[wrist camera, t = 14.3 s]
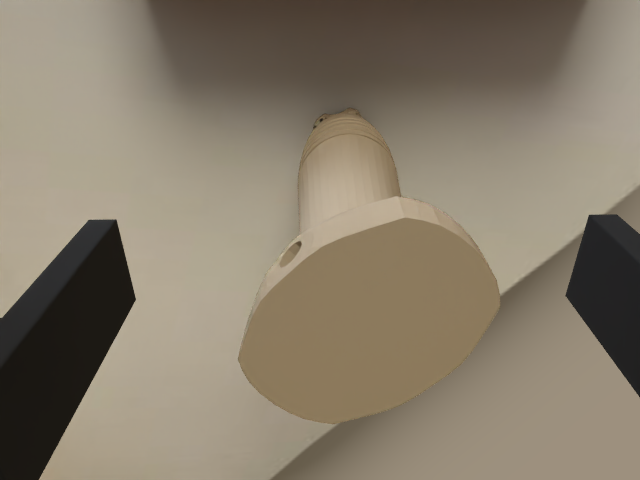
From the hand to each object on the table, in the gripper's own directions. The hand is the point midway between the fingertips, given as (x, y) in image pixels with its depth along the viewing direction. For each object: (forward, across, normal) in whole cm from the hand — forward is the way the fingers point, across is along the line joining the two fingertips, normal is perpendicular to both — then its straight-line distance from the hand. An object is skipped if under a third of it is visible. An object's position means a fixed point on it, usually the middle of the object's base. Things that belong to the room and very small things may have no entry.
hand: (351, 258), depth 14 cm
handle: (+12, 0, 0) cm, 12 cm away
